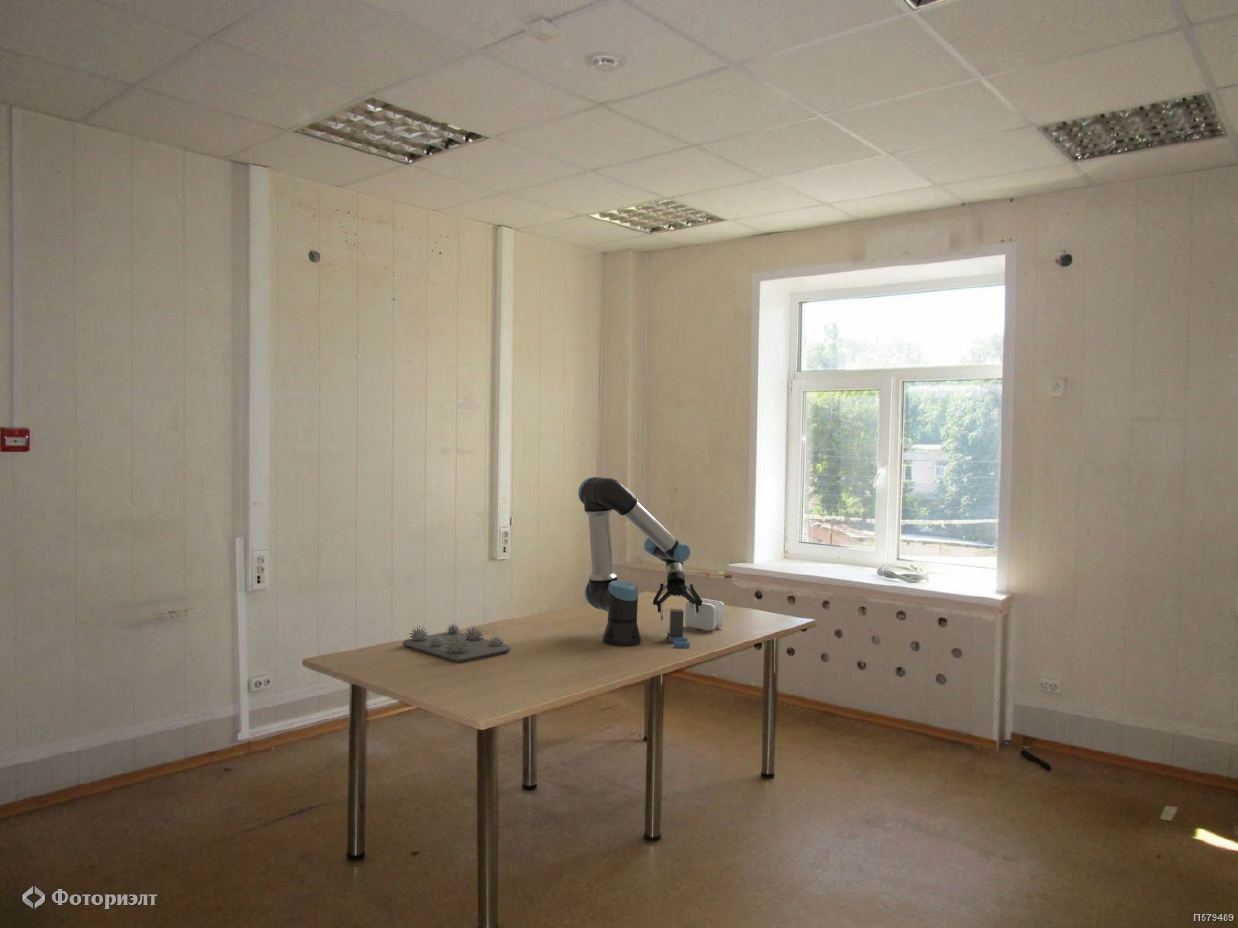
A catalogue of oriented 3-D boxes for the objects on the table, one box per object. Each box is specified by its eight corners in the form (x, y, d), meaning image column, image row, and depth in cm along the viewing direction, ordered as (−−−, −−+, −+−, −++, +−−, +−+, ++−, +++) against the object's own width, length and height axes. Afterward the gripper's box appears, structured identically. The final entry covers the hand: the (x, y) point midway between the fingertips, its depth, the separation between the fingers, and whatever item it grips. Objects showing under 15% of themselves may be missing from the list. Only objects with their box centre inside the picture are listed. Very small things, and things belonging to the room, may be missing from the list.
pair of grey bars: (669, 642, 329) (669, 637, 329) (667, 637, 338) (667, 632, 338) (684, 642, 329) (684, 637, 329) (682, 637, 338) (682, 632, 338)
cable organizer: (726, 629, 357) (726, 602, 357) (712, 632, 349) (713, 605, 349) (697, 623, 367) (698, 597, 367) (683, 627, 359) (684, 600, 359)
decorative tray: (512, 654, 304) (513, 627, 304) (455, 666, 285) (456, 637, 285) (455, 637, 328) (456, 612, 328) (398, 647, 309) (399, 621, 309)
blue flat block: (674, 647, 320) (674, 642, 320) (671, 642, 329) (672, 637, 329) (689, 647, 320) (689, 642, 320) (686, 642, 329) (687, 637, 329)
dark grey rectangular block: (670, 641, 331) (671, 611, 331) (669, 638, 336) (669, 608, 336) (682, 641, 331) (683, 611, 331) (681, 638, 336) (682, 609, 336)
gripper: (703, 581, 354) (708, 624, 339) (645, 580, 353) (647, 623, 338) (706, 571, 348) (710, 614, 334) (646, 570, 347) (648, 613, 333)
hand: (678, 618), depth 336 cm, fingers open, 13 cm apart
